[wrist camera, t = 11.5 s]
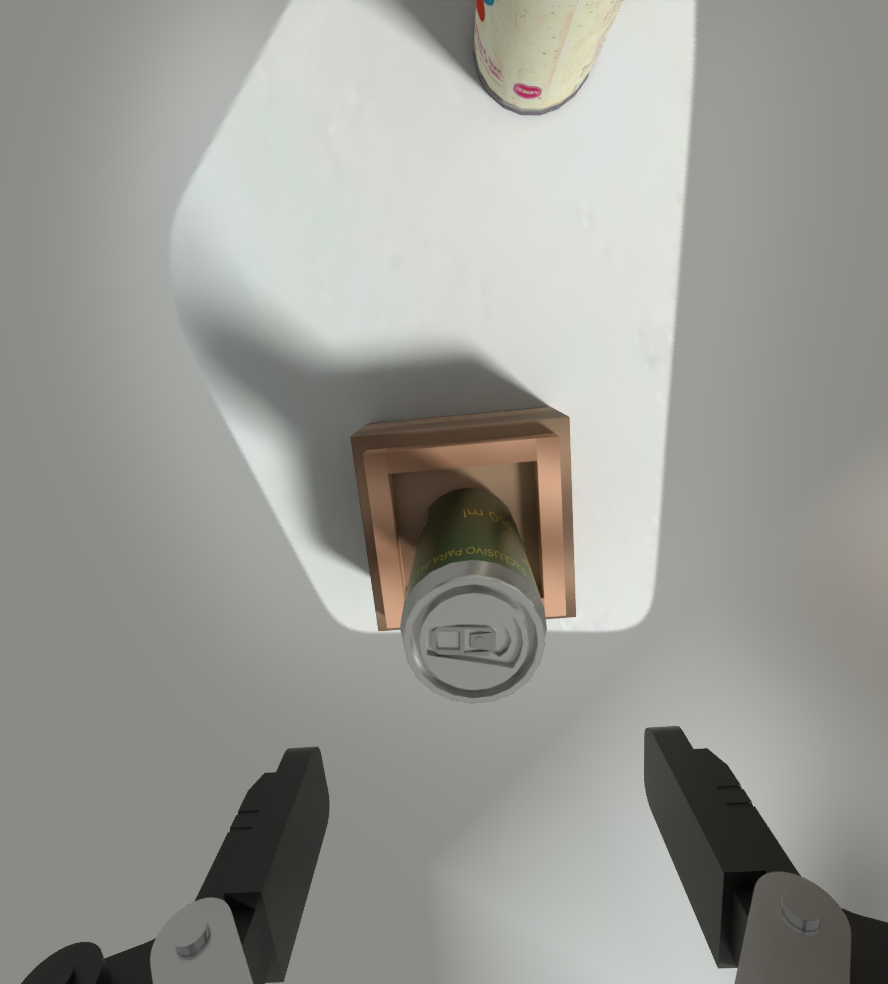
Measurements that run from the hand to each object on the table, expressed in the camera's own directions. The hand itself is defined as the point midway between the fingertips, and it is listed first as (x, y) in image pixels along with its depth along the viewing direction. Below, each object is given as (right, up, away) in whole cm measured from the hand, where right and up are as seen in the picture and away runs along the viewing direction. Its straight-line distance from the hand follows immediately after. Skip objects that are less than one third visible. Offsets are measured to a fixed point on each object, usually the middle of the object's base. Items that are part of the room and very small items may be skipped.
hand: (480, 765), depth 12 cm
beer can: (0, +5, +17) cm, 18 cm away
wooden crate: (+1, +6, +23) cm, 23 cm away
